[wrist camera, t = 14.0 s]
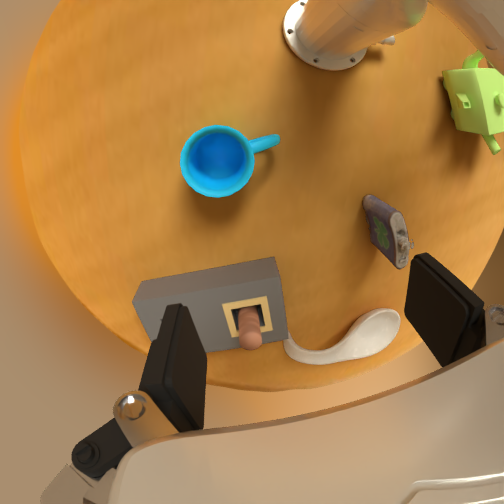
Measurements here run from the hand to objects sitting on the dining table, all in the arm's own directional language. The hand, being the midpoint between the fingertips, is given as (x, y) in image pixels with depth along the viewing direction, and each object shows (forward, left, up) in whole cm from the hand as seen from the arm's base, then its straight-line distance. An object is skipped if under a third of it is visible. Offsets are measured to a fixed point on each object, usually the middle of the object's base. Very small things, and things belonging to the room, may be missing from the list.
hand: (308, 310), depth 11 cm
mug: (+2, -4, -31) cm, 31 cm away
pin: (+4, +19, -29) cm, 35 cm away
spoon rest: (-12, +32, -31) cm, 46 cm away
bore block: (+10, +19, -30) cm, 37 cm away
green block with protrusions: (-40, -11, -31) cm, 51 cm away
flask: (-18, +10, -31) cm, 37 cm away
